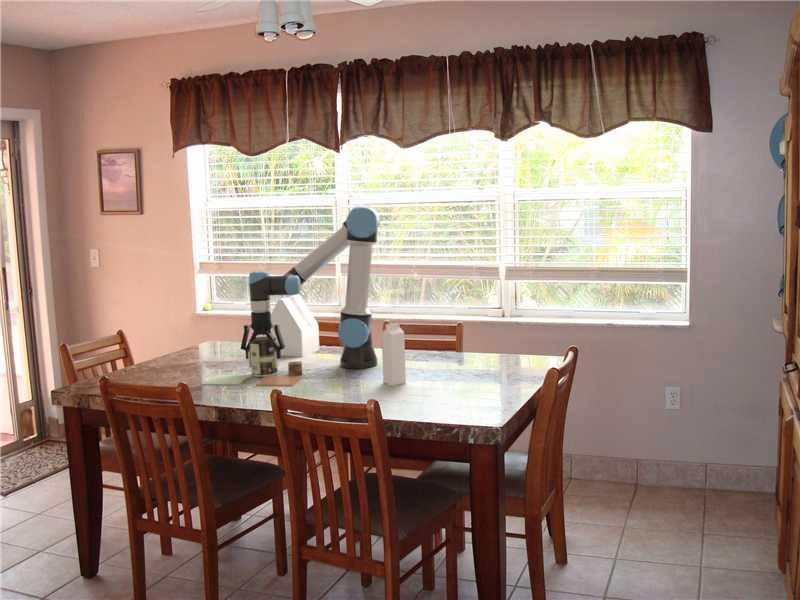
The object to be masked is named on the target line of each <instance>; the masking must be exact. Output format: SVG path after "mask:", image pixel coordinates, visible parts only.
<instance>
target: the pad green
mask: <svg viewBox="0 0 800 600" xmlns="http://www.w3.org/2000/svg"><path fill="white" fill-rule="evenodd" d="M251 377H252V374H249V375H248V374H216V375H214V376H212V377H211V378H209V379H207V380H206V381H204V382H203V383H202V384H201V385H202V386H239V385H241V384H243V383H244V382H245V381H246V380H248V379H250V378H251Z"/></svg>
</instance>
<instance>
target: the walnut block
mask: <svg viewBox="0 0 800 600" xmlns="http://www.w3.org/2000/svg"><path fill="white" fill-rule="evenodd" d="M287 368H288V369H287V370H288V375H291V376H303V362H302V361H301V360H299V361H289V362H288V363H287Z"/></svg>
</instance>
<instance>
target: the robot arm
mask: <svg viewBox="0 0 800 600" xmlns="http://www.w3.org/2000/svg"><path fill="white" fill-rule="evenodd" d="M380 218H381V217H380V215H379V213H378V211H377V209H375V208H374V207H372V206H370V205H366V204H365V205H357V206H355V207H353V208H352V209H351V210H350V211H349V213H348V214H347V217H346V220H345V221H344V222H342V225H341V227H340V228H339V229H338V230H336V231H335V232H334V233H333V234H332V235H331V236H329V238H327V239H326V240H325V241H323V242H322V243H321V244H320V245H318V246H317V247H316V248H315V249H314V250H313V251H312V252H310V253H309V254H308V255H306V256H305V257H304V258H303V259H302V260H301V261H299V262H298V263H296V264H295V265H294V266H293V267H292V268H291V269H289V270H288V271H286V273H284V274H283V275H270V274H269V271H267V270H256V271H255V270H254V271H251V272H249V274H248V279H249V280H248V285H249V297H250V300H249V301H250V311H251V312H250V318H251V323H250V324H248V323H247V324H245V325H243V335H242V341H241V344H240V350H241V351H242V350H243V351H245V358H246V360H248V368H249V369H250V368H251V354H250V342H249V341H248V338H249V334H250V331H251V330H252V331H253V332H252V334H251V336H250V339H249V340H254V339H255V338H256V337H258V336H260V335H262V336H263V335H266V336H267V337H268V338H269V340H273V339H275V338H274V336H273V335H272V332H271V331H270V330H271V328H273V330H275V334H276V337H277V340H278V343H279V344H278V343H277V341H276V340H275V341H274V340H273V346H274V348H275V349H276V351H274V357H275V368H277V369H278V368H279V367H280V361H279V360H280V359H281V358H282V356H281V350H282V349H284V348H285V345H284V342H283V339H282V336H281V333H280V330H279V324H277V325H274V324H272V323H271V313H272V311H271V296H293V295H300V293H301V290H302V289H301V288H302V285H303V284H304V283H306V282H307V281H308V280H310V279H311V277H313V276H314V275H316V274H317V273H318V272H319V271H321V269H323V268H324V267H326V265H328V264H329V263H330V262H331V261H333V260H334V259H335V258H336V257H337V256H339V255H340V254H341V253H342V252H344V251H345V250H346V249H347V248H348V247H349V250H348V254H349V255H348V264H347V265H348V266H347V277H346V293H345V300H344V301H345V303H344V307H342V309H341V310H340V314H339V315H340V317H339V318H340V319H339V326H338V329H337V336H338V339H339V341H340V342H341V343H342V344H343V348H342V352H341V356H340V360H339V366H340V367H341V368H344V369H367V368H372V367H376V366H378V357H377V355H376V351H375V348H374V345H373V327H372V321H373V320H372V317H373V314H372V312H371V311H372V310H371V309H369V308H368V305H369V304H368V303H369V301H368V300H369V291H370V278H371V269H372V267H371V266H372V254H373V247H374V246H375V245H376V244H377V242H378V230H379V229H378V228H379V226H380V221H381V220H380ZM247 342H248V343H247ZM251 369H252V368H251Z"/></svg>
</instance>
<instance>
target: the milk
mask: <svg viewBox="0 0 800 600" xmlns="http://www.w3.org/2000/svg"><path fill="white" fill-rule="evenodd" d="M405 345H406V344H405V331H404V330H403V329H402V328H401V327H400V323H399V322H396V323H388V324H385V329H384V330H383V331H382V332H381V353H382V378H383V379H382V382H383V384H385V383H387V384H386V385H389V384H390V385H389V386H392V385H394V386H398V385H397V384H399V385H404V384H406V383H407V380H406V379H407V378H406V373H407V372H406V355H405V354H406V348H405Z"/></svg>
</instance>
